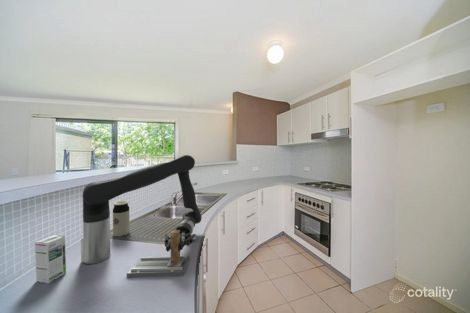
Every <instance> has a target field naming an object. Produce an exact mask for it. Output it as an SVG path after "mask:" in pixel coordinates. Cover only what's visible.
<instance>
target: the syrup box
mask: <svg viewBox="0 0 470 313" xmlns="http://www.w3.org/2000/svg"><path fill="white" fill-rule="evenodd" d="M34 251H35V252H34V253H35V278H36V280H35V281H36V282H38V281H39V282H38V283H42V282H45V283H44V284H50V283H51V282H53V281H55V280H56V279H58V278H60V277H62V276H63V275H65V274H66V273H67V266H66V265H67V264H66V263H67V262H66V261H67V260H66V237H65V236H64V235H59V234H56V235H55V234H54V235H51V236H48V237H45V238H43V239H40V240H37V241H35V242H34ZM54 279H55V280H54Z"/></svg>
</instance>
